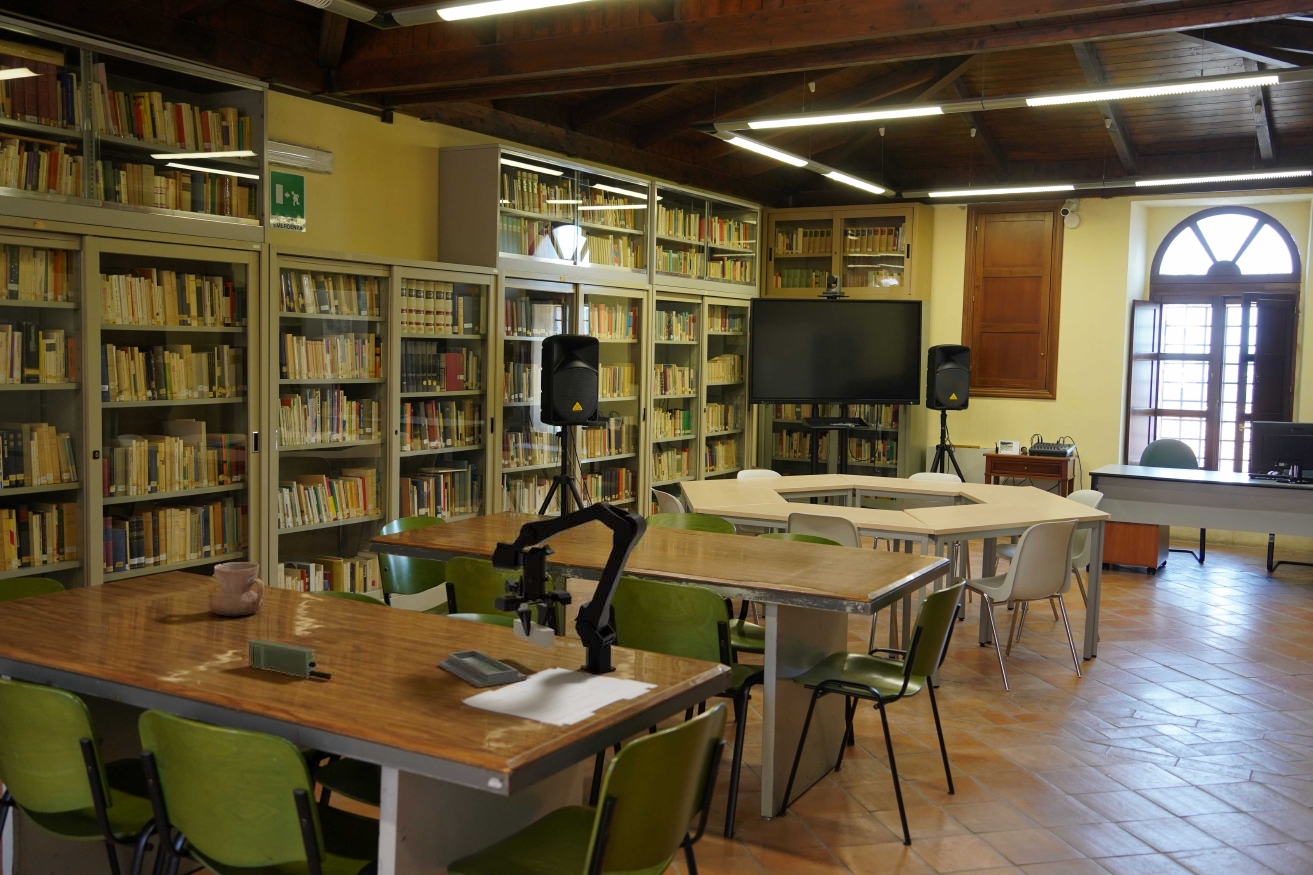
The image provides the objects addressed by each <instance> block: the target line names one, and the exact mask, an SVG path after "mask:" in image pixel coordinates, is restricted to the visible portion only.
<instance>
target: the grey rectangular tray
mask: <svg viewBox="0 0 1313 875" xmlns="http://www.w3.org/2000/svg"><path fill="white" fill-rule="evenodd" d="M438 666H439V667H440V668H442V669H444V670H446V671H447V672H450V673H451V674H453V675H455V676H457V677H459V678H460V679H462V680H465V681H466V682H468V683H470V684H472V685H474V686H475V687H476V688H477V687H478V688H479V689H480V688H487V687H493V686H497V685H503V684H504V685H505V684H510V683H515V682H522V681H527V675H526V674H523V673H521V672H520V671H519V669H516V668H515V667H512V666H510V665H508V664H506V663H504V662H502V661H501V660H498V659H496V658H494V657H492V656H490V655H488V654H486V653H483V652H481V651H479V650H477V649H471V650H465V651H458V652H450V653H447V654H446V660H441V661H440V660H439V661H438Z"/></svg>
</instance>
